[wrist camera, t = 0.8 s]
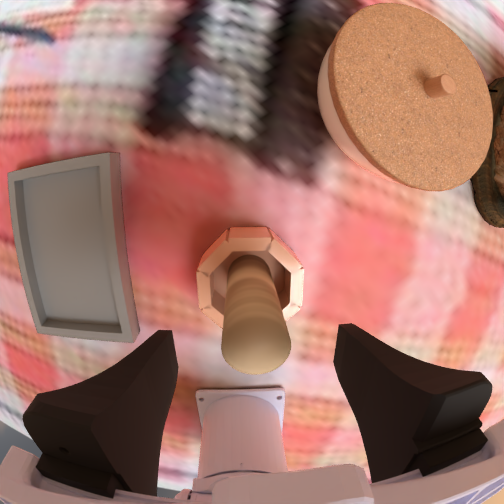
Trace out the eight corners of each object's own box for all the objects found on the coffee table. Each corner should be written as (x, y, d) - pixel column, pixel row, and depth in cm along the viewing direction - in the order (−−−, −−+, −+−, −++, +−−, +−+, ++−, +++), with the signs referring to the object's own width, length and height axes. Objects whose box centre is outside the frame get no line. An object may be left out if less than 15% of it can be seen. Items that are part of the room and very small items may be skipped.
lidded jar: (349, 22, 16) (404, -38, 7) (446, 113, 19) (528, 102, 10) (268, 116, 19) (293, 77, 10) (382, 210, 21) (462, 241, 12)
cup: (292, 311, 23) (300, 332, 20) (206, 313, 22) (202, 335, 19) (295, 226, 21) (305, 236, 18) (200, 228, 21) (193, 239, 17)
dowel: (270, 293, 21) (289, 372, 13) (228, 295, 21) (223, 375, 13) (270, 254, 21) (292, 316, 12) (226, 255, 21) (219, 318, 12)
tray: (140, 331, 23) (133, 342, 21) (47, 323, 22) (37, 333, 21) (119, 153, 19) (109, 152, 17) (20, 171, 18) (7, 172, 17)
